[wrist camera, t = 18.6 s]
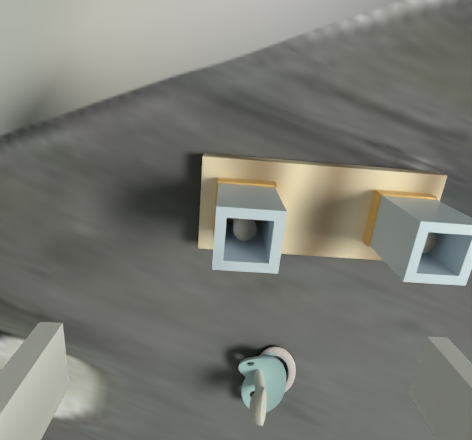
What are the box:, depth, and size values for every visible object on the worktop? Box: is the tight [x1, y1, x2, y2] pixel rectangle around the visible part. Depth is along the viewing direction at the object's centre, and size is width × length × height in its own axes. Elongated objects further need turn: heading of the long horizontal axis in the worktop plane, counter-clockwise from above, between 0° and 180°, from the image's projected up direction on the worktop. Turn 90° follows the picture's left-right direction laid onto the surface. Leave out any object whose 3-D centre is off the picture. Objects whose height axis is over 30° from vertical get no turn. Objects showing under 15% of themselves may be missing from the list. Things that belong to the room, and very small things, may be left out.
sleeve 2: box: [362, 190, 472, 286], centre depth 26 cm, size 5×5×7 cm
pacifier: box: [239, 347, 296, 426], centre depth 34 cm, size 7×6×6 cm
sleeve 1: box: [212, 177, 287, 274], centre depth 25 cm, size 5×5×7 cm
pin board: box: [198, 153, 447, 260], centre depth 27 cm, size 20×8×6 cm, turn 85°
